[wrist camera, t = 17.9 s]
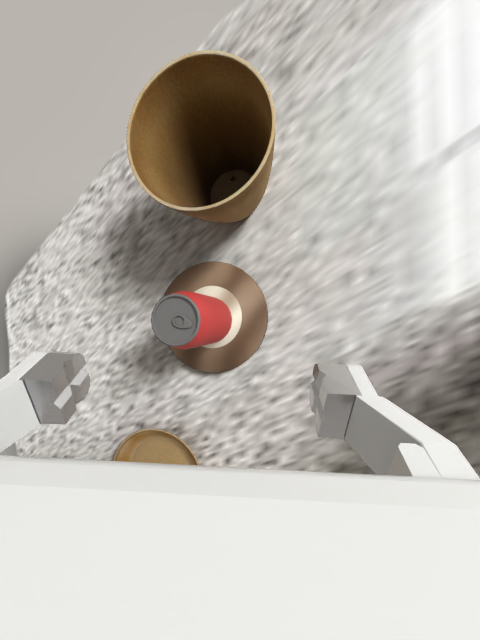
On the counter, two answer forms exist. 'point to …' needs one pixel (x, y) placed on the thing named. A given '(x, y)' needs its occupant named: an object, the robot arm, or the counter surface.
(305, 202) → the counter surface
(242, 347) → the disc
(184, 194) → the plant pot
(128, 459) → the plant saucer
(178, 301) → the beer can
